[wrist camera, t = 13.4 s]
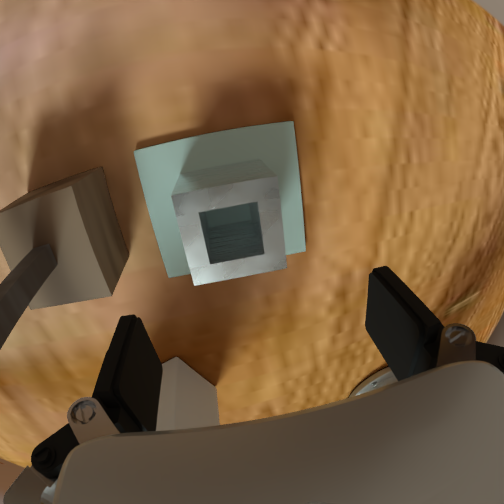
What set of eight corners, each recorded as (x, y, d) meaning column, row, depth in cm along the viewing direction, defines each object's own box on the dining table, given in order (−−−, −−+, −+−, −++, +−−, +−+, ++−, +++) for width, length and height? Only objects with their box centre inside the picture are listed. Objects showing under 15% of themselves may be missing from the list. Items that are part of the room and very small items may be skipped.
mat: (291, 120, 21) (293, 121, 21) (303, 248, 26) (305, 251, 26) (135, 150, 21) (133, 151, 20) (169, 274, 26) (168, 278, 25)
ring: (259, 159, 22) (277, 176, 16) (269, 231, 25) (286, 268, 19) (180, 173, 21) (171, 195, 16) (196, 245, 24) (194, 285, 19)
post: (101, 166, 21) (-16, 253, 7) (129, 256, 24) (75, 400, 11) (27, 193, 20) (-88, 283, 7) (57, 271, 24) (-17, 393, 11)
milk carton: (216, 386, 33) (234, 536, 17) (173, 405, 34) (175, 541, 17) (177, 354, 30) (176, 529, 13) (133, 377, 31) (117, 529, 14)
